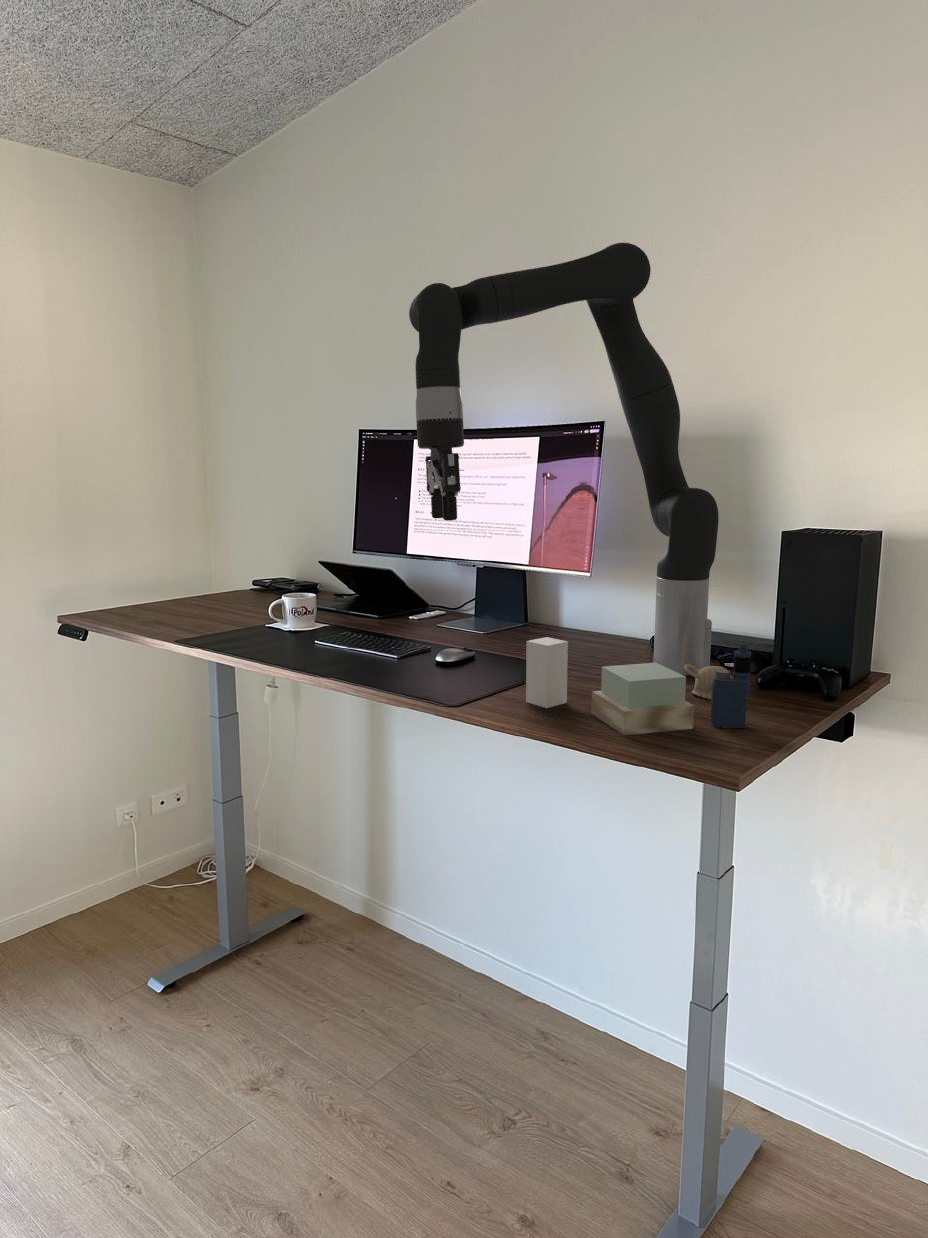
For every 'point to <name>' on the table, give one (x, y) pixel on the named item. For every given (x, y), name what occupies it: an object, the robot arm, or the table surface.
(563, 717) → the table surface
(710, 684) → the decorative ornament
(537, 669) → the white block
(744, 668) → the vaping device
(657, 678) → the top block
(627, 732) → the base block
